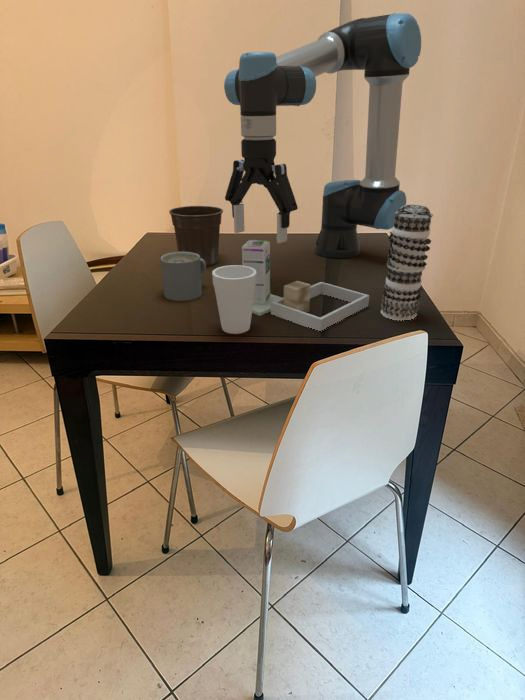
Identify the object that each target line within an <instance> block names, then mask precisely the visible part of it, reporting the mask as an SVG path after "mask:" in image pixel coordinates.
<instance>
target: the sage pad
mask: <svg viewBox="0 0 525 700" xmlns="http://www.w3.org/2000/svg"><path fill="white" fill-rule="evenodd" d="M281 298H283V297H281V296H278V295H275V294H272V293H270V298H269V299H268V301H267V302H266V304H253V309H252V314H255V315H256V316H259V317H261V316H264V315H265V313H266V314H268V313H269V312H270V313H271V302H273V301H276V300H278V299H281Z"/></svg>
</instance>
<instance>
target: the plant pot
mask: <svg viewBox="0 0 525 700" xmlns="http://www.w3.org/2000/svg"><path fill="white" fill-rule="evenodd" d="M168 212H169V214H170V217H171V223H172V225H173V227H174V234H175V240H176V245H177V252H192V253H196V254H198V255H199V256H200V258H202V259H203V260H204V261H205V263H206V267H209V266H212V265H216V264H217V263H218V262H219V246H220V243H219V242H220V230H221V228H220V227H221V224H222V216H223V215H222V214H223V213H224V209H222V208H220V207H217V206H212V205H210V206H209V205H187V206H185V205H184V206H179V207H174V208H172V209H169V211H168Z"/></svg>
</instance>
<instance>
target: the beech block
mask: <svg viewBox="0 0 525 700" xmlns="http://www.w3.org/2000/svg"><path fill="white" fill-rule="evenodd" d="M311 286H312V285H311V284H310V283H307V282H303V281H300V280H296V281H292V282H290V283H288V284H285V285H283V297H284V305H285V306H288V307H291V308H294V309H297V310H300V311H302V312H305V313H307V312H308V313H310V304H311V299H310V288H311Z"/></svg>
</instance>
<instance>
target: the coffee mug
mask: <svg viewBox="0 0 525 700" xmlns="http://www.w3.org/2000/svg"><path fill="white" fill-rule="evenodd" d="M160 269H161V276H162V277H161V278H162V279H161V280H162V288H163V296H164V298H165V299H167V300H170V301H175V302H187V301H193V300H196V299H198V298H200V297H201V296H202V295H203V286H202V285H203V283H202V280H203V279H204V278H205V276H206V273H207V266H206V263H205V261H204V260H203V259H202V258H200V256H199V255H198V254H196V253H192V252H178V251H174V252H168V253H166V254H165V253H164V254H163V255H161V257H160Z"/></svg>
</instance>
